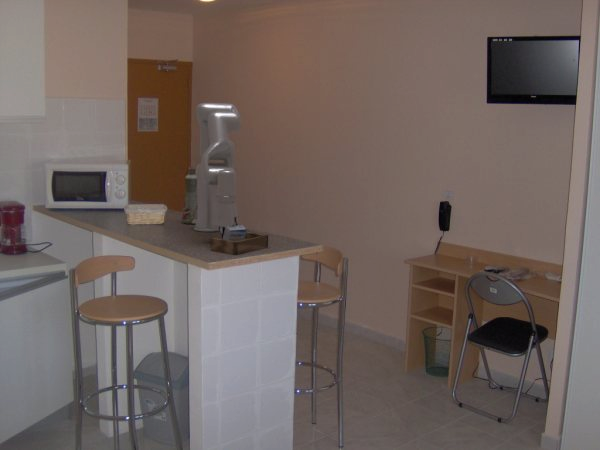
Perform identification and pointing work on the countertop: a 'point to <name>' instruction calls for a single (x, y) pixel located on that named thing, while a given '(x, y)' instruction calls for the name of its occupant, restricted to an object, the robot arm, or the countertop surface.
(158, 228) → the countertop surface
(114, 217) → the countertop surface
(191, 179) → the bottle
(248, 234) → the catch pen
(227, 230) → the medicine box
